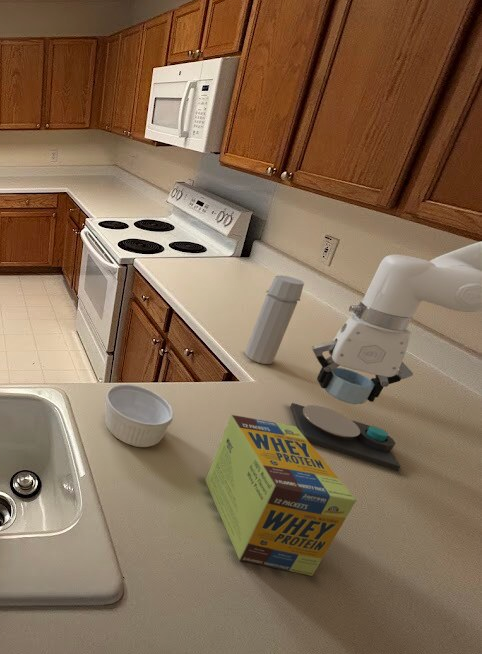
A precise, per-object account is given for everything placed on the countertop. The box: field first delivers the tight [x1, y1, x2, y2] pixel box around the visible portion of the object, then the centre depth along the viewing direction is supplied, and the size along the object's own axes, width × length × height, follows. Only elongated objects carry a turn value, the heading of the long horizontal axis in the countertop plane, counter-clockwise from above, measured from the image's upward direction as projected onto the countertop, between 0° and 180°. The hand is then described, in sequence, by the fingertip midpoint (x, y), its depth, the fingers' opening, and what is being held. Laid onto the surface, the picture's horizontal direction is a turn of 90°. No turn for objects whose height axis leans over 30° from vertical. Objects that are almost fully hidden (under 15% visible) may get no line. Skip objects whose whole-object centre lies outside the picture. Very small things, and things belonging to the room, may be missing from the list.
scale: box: [289, 402, 401, 472], centre depth 90 cm, size 16×13×3 cm
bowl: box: [324, 366, 375, 405], centre depth 87 cm, size 7×7×5 cm
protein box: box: [204, 414, 357, 577], centre depth 65 cm, size 10×15×16 cm
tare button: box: [367, 425, 389, 442], centre depth 87 cm, size 3×3×2 cm
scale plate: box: [303, 404, 360, 438], centre depth 90 cm, size 10×10×1 cm
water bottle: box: [244, 274, 305, 365], centre depth 116 cm, size 9×8×25 cm
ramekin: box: [104, 383, 174, 448], centre depth 86 cm, size 13×13×7 cm
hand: (344, 390), depth 87 cm, fingers closed on bowl, 7 cm apart
